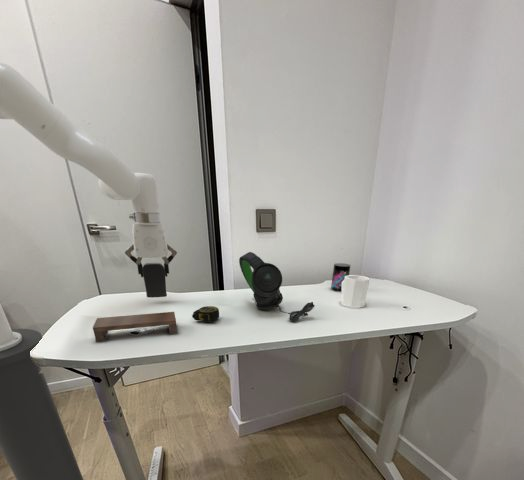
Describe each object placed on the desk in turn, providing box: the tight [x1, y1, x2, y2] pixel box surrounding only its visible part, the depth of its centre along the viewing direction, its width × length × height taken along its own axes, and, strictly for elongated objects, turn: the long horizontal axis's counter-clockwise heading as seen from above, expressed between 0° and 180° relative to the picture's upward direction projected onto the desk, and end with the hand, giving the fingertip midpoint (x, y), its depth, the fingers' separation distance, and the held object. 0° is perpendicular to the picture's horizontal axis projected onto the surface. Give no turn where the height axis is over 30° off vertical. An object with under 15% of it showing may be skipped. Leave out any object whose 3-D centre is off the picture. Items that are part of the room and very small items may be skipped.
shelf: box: [92, 311, 178, 343], centre depth 79 cm, size 20×7×4 cm, turn 109°
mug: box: [340, 274, 370, 309], centre depth 106 cm, size 12×9×10 cm
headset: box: [238, 251, 315, 322], centre depth 95 cm, size 18×14×29 cm
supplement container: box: [330, 262, 352, 292], centre depth 122 cm, size 7×7×10 cm
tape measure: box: [191, 305, 220, 323], centre depth 88 cm, size 7×7×4 cm
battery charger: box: [142, 262, 168, 299], centre depth 100 cm, size 7×4×11 cm, turn 109°
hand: (154, 275), depth 99 cm, fingers closed on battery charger, 7 cm apart
